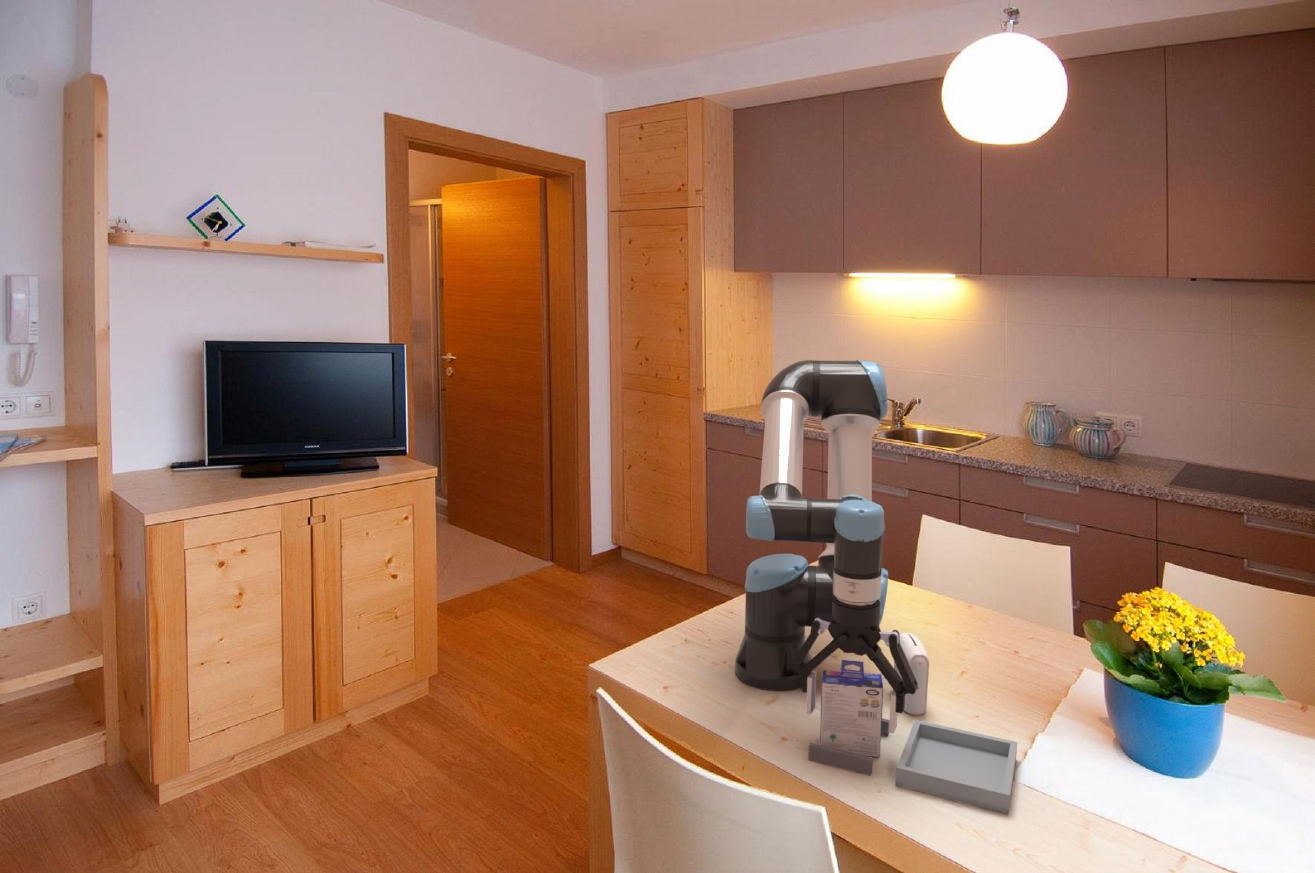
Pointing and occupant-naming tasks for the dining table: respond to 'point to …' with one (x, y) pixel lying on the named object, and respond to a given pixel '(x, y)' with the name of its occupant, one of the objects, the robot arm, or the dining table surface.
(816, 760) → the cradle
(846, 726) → the ink cartridge box
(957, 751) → the tray
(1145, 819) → the dining table surface
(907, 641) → the photo printer
